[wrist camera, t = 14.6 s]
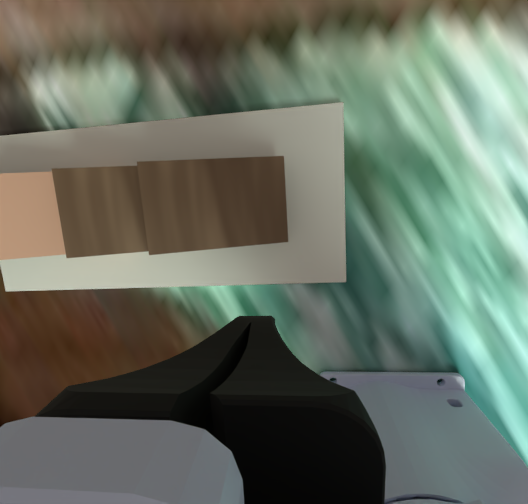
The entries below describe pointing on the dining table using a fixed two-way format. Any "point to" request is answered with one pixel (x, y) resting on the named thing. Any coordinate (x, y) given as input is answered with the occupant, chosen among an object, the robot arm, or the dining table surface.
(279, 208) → the domino
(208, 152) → the board
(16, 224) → the domino
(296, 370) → the robot arm
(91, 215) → the domino
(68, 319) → the dining table surface
